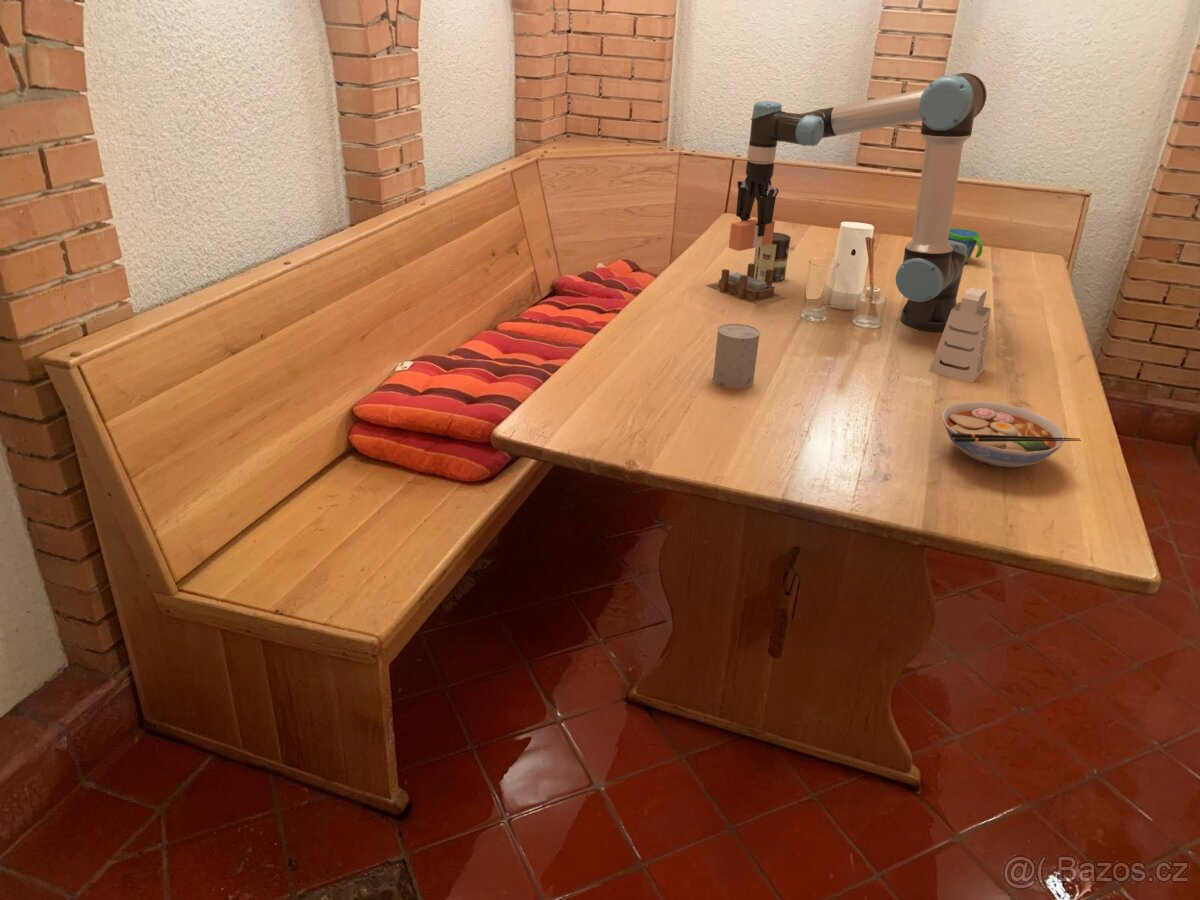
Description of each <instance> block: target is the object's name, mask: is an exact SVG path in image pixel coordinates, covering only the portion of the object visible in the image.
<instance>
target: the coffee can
mask: <svg viewBox="0 0 1200 900" xmlns="http://www.w3.org/2000/svg"><path fill="white" fill-rule="evenodd" d="M791 240H792V239H791V236H790V235H789V234H786V233H782V232H775V231H774V232H773V240H772V244H771V245H766V246H761V247H757V248H754V257H753V259H754V260H753V264H755V273H754V278H755V279H758V280H761V281H764V282H765V277H766V270H768V269H771V270H774V272H773V279H772V283H781V282H783V281H785V280H786V272H787V266H788V256H789V248H790V242H791Z"/></svg>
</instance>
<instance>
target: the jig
mask: <svg viewBox="0 0 1200 900" xmlns="http://www.w3.org/2000/svg"><path fill="white" fill-rule="evenodd" d="M773 272H774V270H771V269H768V270H766V277H765V282H767V288H766V289H764V290H760V291H756V290H753V289H750V288H747V279H748V276H749V277H752V278H754V273H755V264H754V263H752V262H751V263H748V264H747V273H746V274H743V276H740V283H739V284H736V283H733V282H730V281H728V280H729V274H730V269H727V268H725V269H721V277H720V279H719V280H718V281H717V282H713V283H708V284H705V285H704V286H705V287H708V288H711V289H713V290H716V291H718V292H721V293H722V294H724V293H725V294H727V295H729V296H732V297H735V298H737V299H739V300H743V301H745V302H749V303H752V304H754V305H758V306H765V305H767V304H771V303H775V302H779V301H782V300H785V299H786V300H787V299H788V298H787V297H785V296H782V295H779V294H776V293H775V292H774V291H775V287H774V286H772V285H773V282H772V279H773ZM745 275H746V276H745Z"/></svg>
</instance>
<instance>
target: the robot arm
mask: <svg viewBox="0 0 1200 900" xmlns="http://www.w3.org/2000/svg"><path fill="white" fill-rule="evenodd" d="M986 101H987V88H986V85H985V83H984V82H983V80H982V79H980V77H979V76H977V75H975V74H972V73H968V72H961V73H956V74H948V75H943V76H941V77H939V78H936V80H934V81H932V82H931V83H930V84H929V85H927V87H926V88H924V89H917V90H913V91H908V92H902V93H898V94H892V95H888V96H887V95H886V96H882V97H879V98H878V97H877V98H872V99H867V100H862V101H855V102H853V103H846V104H841V105H837V106H833V107H827V108H820V109H815V110H813V111H807V112H803V113H802V112H801V113H795V112H788V111H787V112H785V111H782V110H783V108H782V103H780V102H777V101H769V100H760V101H757V102H756V103H754V105H753V109H752V115H751V119H750V121H751V123H750V124H751V125H750V126H751V127H750V132H749V133H750V135H749V140H748V141H749V142H748V143H749V144H748V149H747V156H746V157H747V158H746V159H747V160H748V161H747V162H746V166H745V167H746V168H745V174H746V178H745V180H738V181H737V184H736V185H737V203H736V211H735V215H736V217H738V218H740V220H741V221H746V220H752V217H751V213H752V210H753V207H754V202H755V200H756V202H757V203H756V204H757V207H756V209H757V218H758V223H756V225H755V232H754V240H753V248H752V249H755V248H757V247H761V241H762V236H764V232H765V225H766V224H770V223H772V219H773V218H774V211H775V205H776V199H777V196H778V194H779V189H778V188H775V187H773V186H772V180H771V179H772V177H773V175H774V170H775V169H774V168H775V164H774V161H775V159H776V153H777V144H778V142H779V143H781V142H782V143H790V144H795V145H801V146H803V147H805V146H809V147H814V146H817V145H818V144H819V143H820V142H821V141H822V139H825V138H831V137H836V136H842V135H847V134H854V133H860V132H865V131H870V130H877V129H882V128H889V127H895V126H900V125H905V124H911V123H918V122H921V126H920V127H921V129H920V136H921V137H922V138H923V140H924V141H925V147H924V153H923V161H922V167H921V168H922V169H921V176H920V182H919V190H918V198H917V203H916V211H915V216H914V217H915V218H914V223H913V224H914V225H913V232H912V238H911V240H910V241H908V242H907V243H906V244H905V245H904V254H903V258H902V260H903V261H902V263H901V264H900V265H899V267H898V269H897V270H896V274H895V285H896V287H897V289H898V291H899V293H900V294H901V295H902V296H903V297H904V298H906V300H907V301H906V303H905V305H904V306H903V308H902V310H901V313H900V319H899V320H900V321H901V322H902V323H903V324H904V325H907V326H908V327H911V328H915V329H918V330H921V331H928V332H940V333H941V332H942V333H943V331H944V328H945V326H946V323H947V320H948V317H949V315H950V312H951V309H952V308H954V307H955V306H956V305H957V304H958V303H957V296H958V292H959V289H960V285H961V284H960V283H961V280H962V276H963V272H964V271H963V270H964V267H965V264H964V263H965V259H966V258H967V246H966V245H965V244H963V243H960V242H956V241H951V240H948V236H949V230H950V229H951V222H952V217H953V212H954V211H953V209H954V204H955V203H954V202H955V198H956V197H955V196H956V190H957V184H958V179H959V172H960V165H961V160H962V152H963V147H964V143H965V142H966V141H967V140H968V139H969V138H971V136H972V132H973V127H974V126H973V125H974V121H975V118H976V117H978V116H979V114H980V113H981V112H982V111H983V109H984V107H985V105H986ZM741 221H740V222H741Z"/></svg>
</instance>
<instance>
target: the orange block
mask: <svg viewBox="0 0 1200 900" xmlns="http://www.w3.org/2000/svg"><path fill="white" fill-rule="evenodd" d="M756 223H758V217H756V218H754V219H753V218H751V219H748V220H746V221H735V222H731V224H730V233H729V241H728V249H731V250H734V251H736V252H737V251H738V252H741V251H745V250H750V249H754V248H753V240H754V232H755V225H756ZM775 223H776V220H775V219H773V218H772V223H770V224H766V225H765V232H764V236H762V241H761V246H766V245H771V244H772V240H773V232H775V231H774V230H775Z"/></svg>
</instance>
